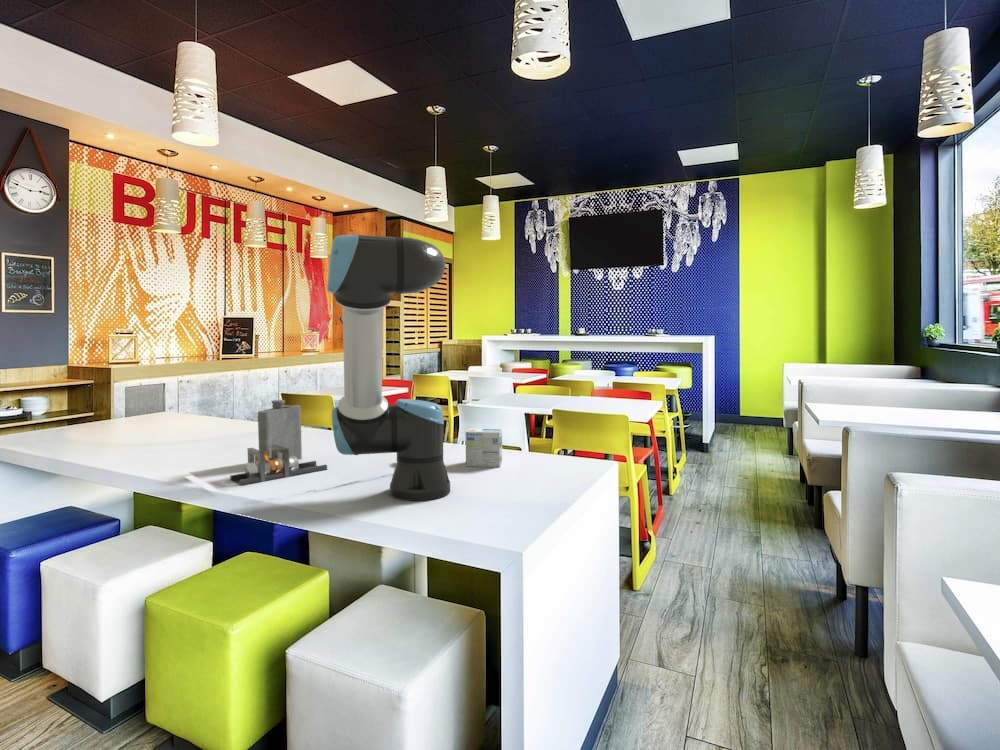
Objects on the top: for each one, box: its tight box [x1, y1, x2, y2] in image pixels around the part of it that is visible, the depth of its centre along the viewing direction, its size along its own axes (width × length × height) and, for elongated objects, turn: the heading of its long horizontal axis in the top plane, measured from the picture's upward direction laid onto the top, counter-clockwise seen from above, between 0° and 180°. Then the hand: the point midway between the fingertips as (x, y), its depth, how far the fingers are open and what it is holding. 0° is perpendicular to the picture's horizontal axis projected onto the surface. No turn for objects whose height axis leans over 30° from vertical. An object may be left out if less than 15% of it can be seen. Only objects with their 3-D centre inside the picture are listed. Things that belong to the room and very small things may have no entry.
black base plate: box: [229, 460, 329, 487], centre depth 155 cm, size 24×8×2 cm, turn 135°
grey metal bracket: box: [246, 444, 290, 483], centre depth 152 cm, size 8×8×8 cm
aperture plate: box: [254, 451, 270, 462], centre depth 156 cm, size 4×1×7 cm, turn 136°
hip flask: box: [257, 399, 303, 461], centre depth 167 cm, size 16×4×20 cm, turn 159°
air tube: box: [244, 456, 299, 479], centre depth 154 cm, size 13×4×5 cm, turn 135°
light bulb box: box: [465, 428, 503, 468], centre depth 171 cm, size 11×7×11 cm, turn 84°
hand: (361, 374), depth 164 cm, fingers closed
